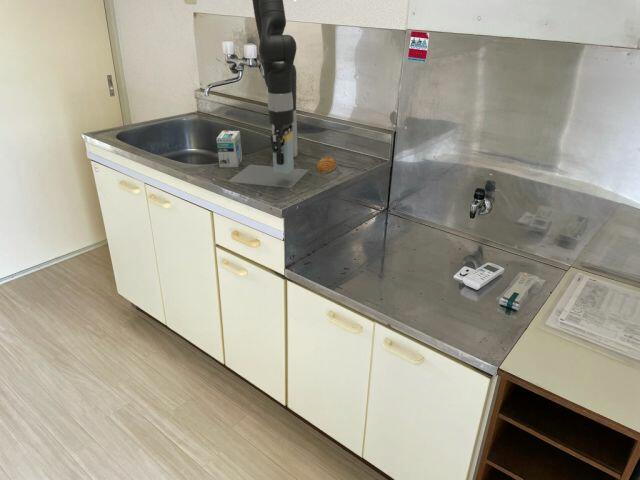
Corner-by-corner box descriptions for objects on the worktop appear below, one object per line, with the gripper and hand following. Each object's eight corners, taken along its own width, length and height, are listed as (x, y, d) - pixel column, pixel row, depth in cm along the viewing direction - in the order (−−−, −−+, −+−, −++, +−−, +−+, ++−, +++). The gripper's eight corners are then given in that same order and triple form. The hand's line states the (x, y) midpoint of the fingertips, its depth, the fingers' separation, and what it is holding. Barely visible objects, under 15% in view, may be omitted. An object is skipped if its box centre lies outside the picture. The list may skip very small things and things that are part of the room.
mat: (250, 165, 172) (250, 164, 172) (308, 171, 167) (308, 169, 167) (227, 182, 157) (227, 181, 157) (291, 189, 151) (291, 187, 151)
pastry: (334, 175, 163) (334, 164, 161) (314, 175, 164) (314, 164, 162) (336, 166, 172) (336, 156, 170) (318, 166, 172) (317, 156, 171)
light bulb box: (237, 168, 170) (235, 138, 165) (218, 168, 171) (215, 138, 166) (242, 158, 180) (240, 130, 175) (224, 158, 180) (222, 130, 175)
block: (279, 166, 156) (277, 130, 150) (293, 168, 155) (292, 131, 149) (273, 172, 152) (271, 134, 146) (288, 173, 150) (287, 135, 145)
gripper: (277, 101, 151) (279, 153, 159) (260, 112, 139) (264, 168, 147) (299, 102, 149) (301, 155, 157) (284, 113, 137) (287, 170, 145)
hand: (283, 161), depth 152 cm, fingers closed on block, 5 cm apart
